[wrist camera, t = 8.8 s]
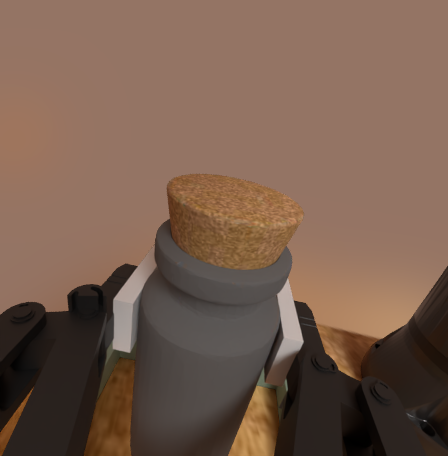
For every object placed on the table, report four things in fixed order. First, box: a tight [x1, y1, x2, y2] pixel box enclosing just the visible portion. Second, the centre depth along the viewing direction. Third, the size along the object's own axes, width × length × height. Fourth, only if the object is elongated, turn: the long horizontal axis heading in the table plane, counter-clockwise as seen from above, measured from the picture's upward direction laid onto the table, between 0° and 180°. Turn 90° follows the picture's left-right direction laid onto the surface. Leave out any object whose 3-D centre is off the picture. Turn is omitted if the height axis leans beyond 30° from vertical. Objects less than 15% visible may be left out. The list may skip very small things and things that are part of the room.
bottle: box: [130, 174, 304, 456], centre depth 12 cm, size 6×6×15 cm
